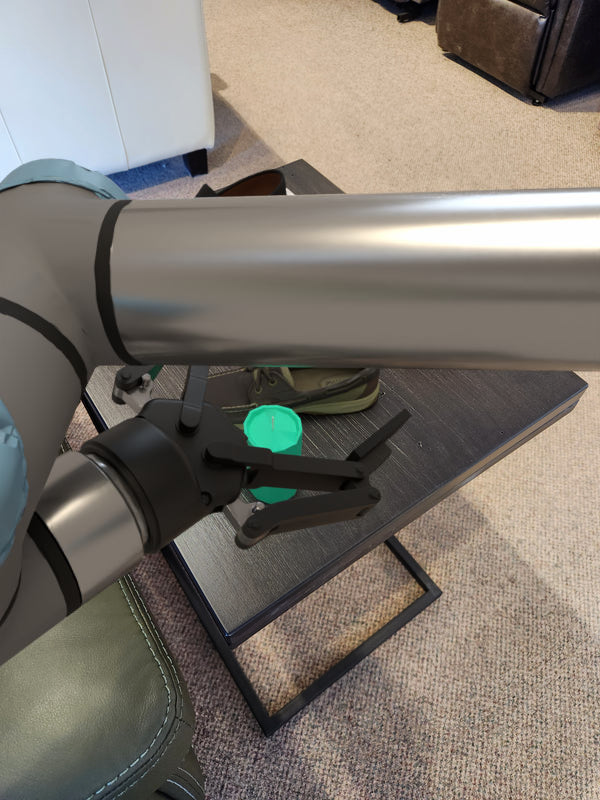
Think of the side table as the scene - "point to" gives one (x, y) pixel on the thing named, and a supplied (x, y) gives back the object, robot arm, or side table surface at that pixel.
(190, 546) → the side table surface
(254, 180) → the loafer
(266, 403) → the boat shoe
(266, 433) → the candle
